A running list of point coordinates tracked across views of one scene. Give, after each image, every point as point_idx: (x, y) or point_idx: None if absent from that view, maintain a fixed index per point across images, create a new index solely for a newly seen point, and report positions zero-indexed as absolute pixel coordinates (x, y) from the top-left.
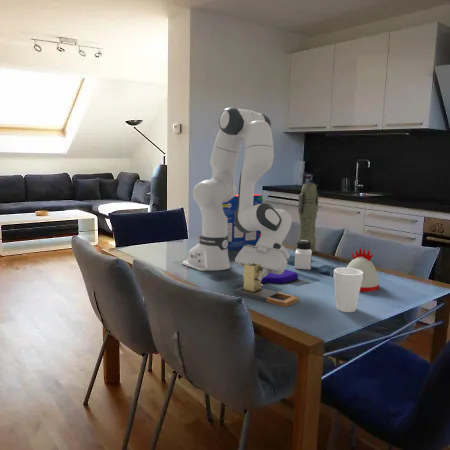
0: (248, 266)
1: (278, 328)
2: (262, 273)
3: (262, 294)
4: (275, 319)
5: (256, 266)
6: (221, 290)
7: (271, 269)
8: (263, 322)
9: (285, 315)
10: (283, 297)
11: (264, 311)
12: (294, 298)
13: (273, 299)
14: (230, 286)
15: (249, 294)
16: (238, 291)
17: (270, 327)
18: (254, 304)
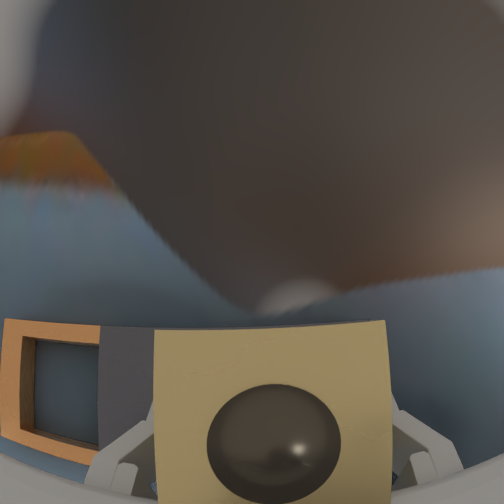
0: (286, 331)
1: (12, 147)
2: (129, 435)
3: (151, 368)
4: (24, 185)
5: (154, 397)
6: (451, 308)
7: (18, 462)
8: (50, 142)
9: (3, 239)
10: (71, 440)
11: (71, 214)
12: (2, 406)
13: (60, 324)
14: (468, 406)
15: (235, 327)
16: (335, 323)
17: (29, 136)
18: (145, 253)
